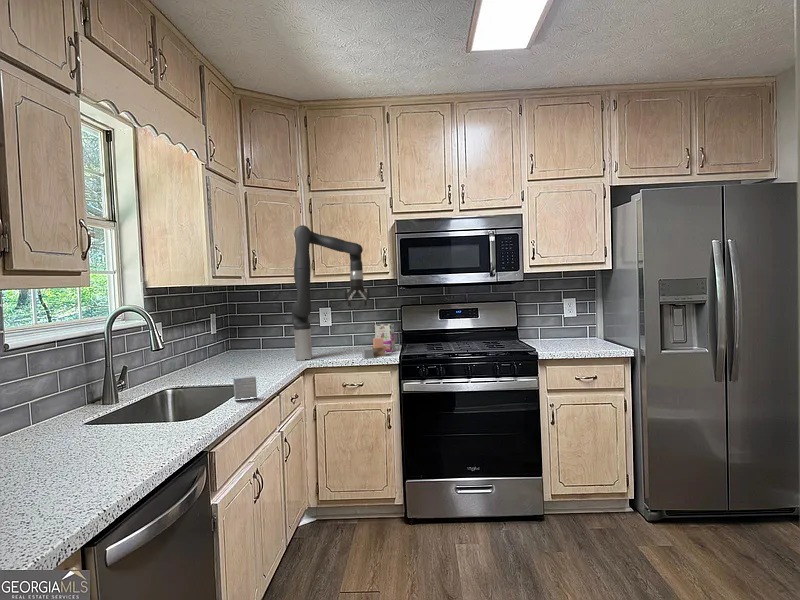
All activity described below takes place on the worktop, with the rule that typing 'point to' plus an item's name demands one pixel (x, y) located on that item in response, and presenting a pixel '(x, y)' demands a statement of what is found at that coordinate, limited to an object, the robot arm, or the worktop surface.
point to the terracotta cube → (378, 342)
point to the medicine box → (245, 387)
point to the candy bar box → (386, 335)
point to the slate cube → (367, 353)
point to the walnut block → (379, 351)
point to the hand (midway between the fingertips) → (357, 306)
